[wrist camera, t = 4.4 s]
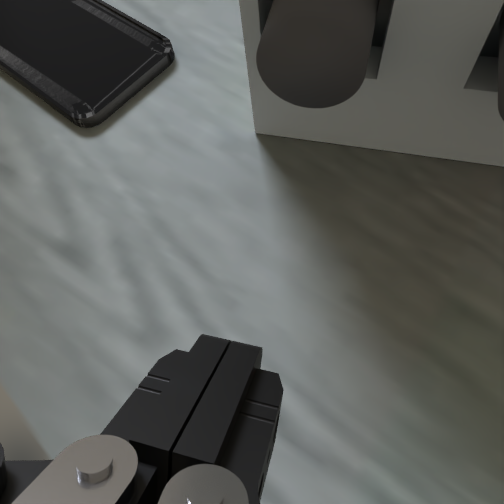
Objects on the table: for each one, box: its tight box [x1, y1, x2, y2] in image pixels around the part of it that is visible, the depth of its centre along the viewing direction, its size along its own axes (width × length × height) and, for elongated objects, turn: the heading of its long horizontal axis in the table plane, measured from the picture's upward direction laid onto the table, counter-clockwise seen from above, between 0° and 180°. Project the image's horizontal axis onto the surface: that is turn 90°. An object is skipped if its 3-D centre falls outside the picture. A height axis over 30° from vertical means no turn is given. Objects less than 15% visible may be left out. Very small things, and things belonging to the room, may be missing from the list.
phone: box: [0, 0, 174, 128], centre depth 28 cm, size 8×1×15 cm
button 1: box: [256, 0, 380, 108], centre depth 16 cm, size 4×4×4 cm
